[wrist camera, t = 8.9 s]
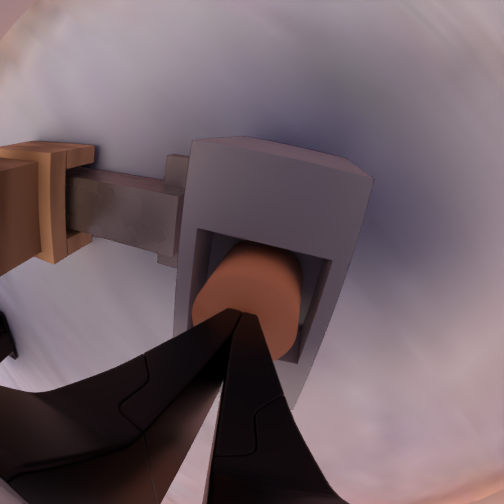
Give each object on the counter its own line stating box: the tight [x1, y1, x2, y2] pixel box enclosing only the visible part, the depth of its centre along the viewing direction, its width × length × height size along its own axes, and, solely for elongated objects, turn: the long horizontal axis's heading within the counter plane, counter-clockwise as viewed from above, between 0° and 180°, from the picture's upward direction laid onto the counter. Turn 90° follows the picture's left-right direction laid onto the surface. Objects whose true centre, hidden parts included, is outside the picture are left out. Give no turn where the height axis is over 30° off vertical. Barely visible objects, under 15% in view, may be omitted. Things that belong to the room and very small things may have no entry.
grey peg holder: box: [173, 136, 374, 410], centre depth 13 cm, size 5×9×7 cm, turn 170°
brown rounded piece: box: [192, 240, 303, 361], centre depth 10 cm, size 3×3×3 cm
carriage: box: [0, 141, 95, 276], centre depth 13 cm, size 6×6×8 cm
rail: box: [65, 154, 190, 268], centre depth 16 cm, size 22×6×2 cm, turn 80°
